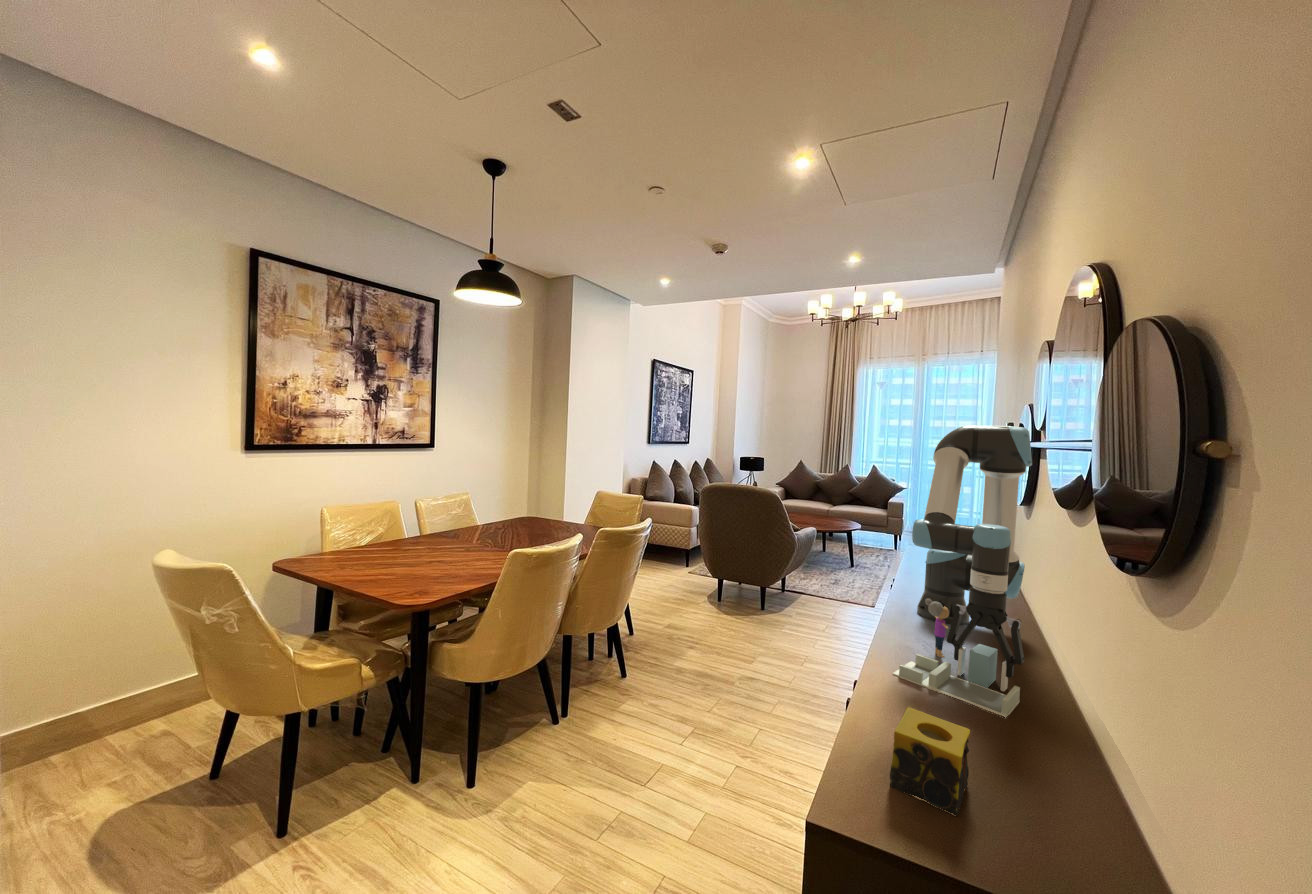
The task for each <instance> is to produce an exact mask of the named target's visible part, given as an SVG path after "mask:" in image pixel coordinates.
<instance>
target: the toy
mask: <svg viewBox="0 0 1312 894" xmlns="http://www.w3.org/2000/svg"><path fill="white" fill-rule="evenodd" d="M940 602H941V603H942V605H941V604H940ZM925 603H926V604H927V605H929V606H928V609H929V612H930V613H931V614H932V615H933V616H934V617H935V618H936V621H934V622H935V623H934V632H933V635H934V639H935V642H934V643H935V645H934V646H935V652H934V654H935V655H936V657H938V656H940V657H939V658H945V655H944V654H943V646H944V641H945V638H946V630H949V626H948V624H946V623H945V621H944V620H943V619H945V618H947V617H948V616H949V610H948V608H946V607H945V606H944V603H943V602H942V601H941V600H939V602H936V601H934V602H932V600H931V599H926V600H925ZM939 618H940V619H939ZM942 654H943V655H942Z"/></svg>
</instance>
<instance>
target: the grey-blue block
mask: <svg viewBox="0 0 1312 894" xmlns="http://www.w3.org/2000/svg"><path fill="white" fill-rule="evenodd" d="M998 652H999V651H998V648H995V647H991V646H988V645H986V644H985V645H984V644H981V643H978V644H977V645H975V646H974V647H973V648H971V649H970V650H969V658H968V660H969V661H968V671H967V672H968V673H967V674H968V675H967V681H969V682H972V683H975V684H978V685H980V686H983V687H985V688H988V687H989V686H990V685H991V684H992V683H993V682H994V681H995V680H997V679H996V677H997V663H998ZM995 682H996V681H995ZM995 682H994V683H995ZM994 683H993V684H994ZM993 684H992V685H993ZM990 687H991V686H990ZM990 687H989V688H990ZM989 688H988V689H989Z"/></svg>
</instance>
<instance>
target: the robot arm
mask: <svg viewBox="0 0 1312 894" xmlns="http://www.w3.org/2000/svg"><path fill="white" fill-rule="evenodd" d="M1030 437H1031V435H1030V431H1029V429H1027V428H1026V427H1024V426H1022V427H1021V426H1014V425H1013V426H1011V425H974V424H973V425H971V424H970V425H964V426H960V427H957V428H955V429H954V430H952V431H950V432H949V433H947V434H946V435H944V437H943V438H942V439H941V440H940V441H939V442H938V443H937V445H936V447H935V449H934V453H933V463H934V464H935V465H934V470H933V475H932V481H931V483H930V490H929V495H928V500H927V502H926V503H927V504H926V507H925V513H924V518H922V519H915V520H914V522H913V525H912V531H911V532H912V533H911V534H912V535H911V537H912V538H911V539H912V543H913V544H914V546H916V547H920V548H925V549H929V550H928V551H927V553H926V559H925V574H924V575H925V576H924V590H923V593H922V595H921V597H920V600H919V601H918V604H917V610H916V612H917V614H918V615H919V616H920V617H922V618H924V619H927V620H930V621H933V622H936V618H935V617H934V616H933V615H932V614H931V613H930V612H929V609H928V606H929V605H927V604H926V603H925V600H926V599H931V600H932V602H934V601H936V602H939V600H941V601H942V602H943V603H944V606H945V607H946V608H948V610H949V616H948V617H947V618H945V619H943V620H944V621H945V623H946V625H950V627H949V629H948V632H947V633H948V634H947V636H946V639H945V640H946V643H948V644H951V645H953V648H954V650H953V651H954V652H953V658H954V661H957V670H956V671H957V672H956V675H957V674H958V675H960V676H959V677H962V676H963V675H964V674H965V668H966V667H965V666H966V665H965V664H966V652H967V647H964V646H963V645H964V644H965V642H967V639H968V638H969V636H970V635H971V634H972V632H973V631H974V630H975V628H976V627H978V628H979V627H980V628H984V629H987V630H991V631H992V634H993V635H994V636H995V638H996V641H997V644H998V645H999V648H1000V650H1001V651H1000V652H1001V653H1002V655H1003V658H1004V661H1003V662H1002V663H1001V677H1000V678H1001V679H1000V691H1001V692H1006V690H1007V689H1008V685H1009V684H1008V683H1009V679H1012V678H1013V677H1014V672H1015V665H1018V666H1021V665H1022V664H1023V663H1024V662H1025V654H1024V649H1023V643H1022V637H1021V626H1022V620H1021V619H1020V618H1016V619H1015V618H1013V617H1010V616H1008V614H1007V611H1006V610H1007V599H1015V598H1017V597H1018V596H1019V593H1020V590H1021V586H1022V583H1023V578H1024V573H1025V569H1026V568H1025V563H1024V562H1022V561H1020V556H1019V554H1017V553H1016V552H1015V541H1016V540H1015V538H1016V528H1017V527H1016V524H1017V512H1018V511H1017V509H1018V499H1019V498H1018V497H1019V483H1020V477H1021V476H1022V475H1024V474H1025V473H1026V471H1027V467H1028V468H1029V467H1031V466H1033V458H1032V448H1031V447H1032V445H1031V438H1030ZM969 463H974V464H975V463H976V464H979V470H980V471H982V472H983V474H984V475H985V476H984V486H983V487H984V491H983V505H982V506H983V508H982V522H981V523H978V524H976V525H974V526H973V525H964V524H958V523H956V519H957V512H958V508H959V507H958V506H959V501H960V495H961V488H962V481H963V475H964V470H965V468H966V467H967V466H968V465H969ZM966 591H967V592H968V604H966V603H967V602H966V600H965V592H966ZM940 604H941V605H942V603H941V602H940ZM939 619H940V618H939ZM1005 622H1007V624H1008V625H1007V626H1008V627H1009V628H1010V634H1011V641H1012V647H1013V652H1012V650H1011V647H1010V645H1009V642H1008V640H1007V638H1006V634H1005V632H1004V628H1003V626H1002V625H1003V624H1004V623H1005ZM964 624H965V625H966V627H965V628H964V630H963V631H962V633H961V634H960V635H959V637H958V638H957V639H956V637H957V634H958V631H959V629H960V626H963V625H964ZM963 673H964V674H963ZM962 674H963V675H962ZM958 675H957V676H958ZM961 675H962V676H961Z"/></svg>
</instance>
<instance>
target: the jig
mask: <svg viewBox="0 0 1312 894" xmlns="http://www.w3.org/2000/svg"><path fill="white" fill-rule="evenodd" d="M951 672H952V664H951V663H949V662H947V661H944V662H942V663H941V664H940V665H939V660H937V659H934V658H932V657H931V658H930V657H927V656H925V655H923V654H919V653H916V654H915V662H914V661H912V660H911V661H909V662H907V663H905V664H900V665H899V669H897V670H895V671H893V672H892V675H893V676H896V677H898V678H900V679H903V680H906V681H908V682H911V683H913V684H916V685H918V686H921V687H923V688H925V689H929V690H932V691H934V692H936V691H937V692H936V693H939V694H941V693H942V695H944V694H945V695H944V696H946V695H948V696H947V697H949V696H951V697H950V698H952V697H954V698H957V699H960V700H963V701H966V702H969V703H971V704H973V705H975V706H978V707H980V708H983V709H986V710H988V711H991V712H994V713H996V714H999V715H1002V716H1004V717H1005V718H1004V719H1007V718H1008V717H1009V716H1010V715H1011V713H1012V712H1013V711H1014V709H1016V707H1017V706H1018V705H1019V703H1020V700H1021V699H1020V691H1021V686H1020V687H1019V686H1018V685H1014V686H1013V687H1012V688H1011V689H1010V690H1009V692H1007V694H1004V693H1001V692H999V691H997V690H992V689H991V688H985V687H982V686H979V685H976V684H974V683H971V682H968V680H965V679H962V678H960V677H957V676H954V675H951V674H952V673H951ZM954 698H953V699H954ZM957 699H956V700H957ZM975 706H974V707H975ZM980 708H979V709H980ZM983 709H982V710H983ZM988 711H987V712H988ZM1008 715H1009V716H1008ZM1007 716H1008V717H1007ZM1006 717H1007V718H1006Z"/></svg>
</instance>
